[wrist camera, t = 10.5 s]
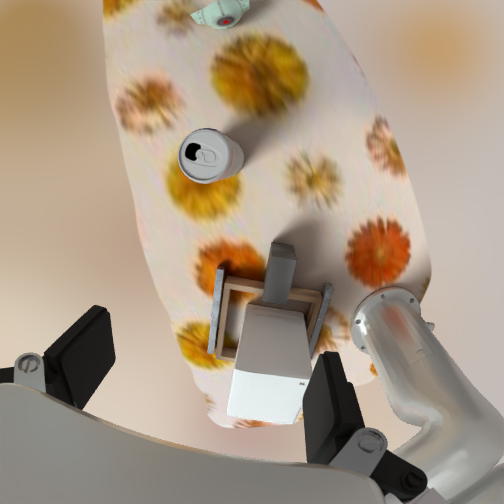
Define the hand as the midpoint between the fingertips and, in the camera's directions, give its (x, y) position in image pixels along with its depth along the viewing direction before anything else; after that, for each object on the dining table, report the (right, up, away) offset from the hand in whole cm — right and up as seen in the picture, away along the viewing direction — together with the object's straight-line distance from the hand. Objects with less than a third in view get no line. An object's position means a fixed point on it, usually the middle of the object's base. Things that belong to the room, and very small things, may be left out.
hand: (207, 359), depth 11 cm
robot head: (-2, +36, +19) cm, 41 cm away
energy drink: (-2, +17, +25) cm, 30 cm away
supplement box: (+5, -8, +32) cm, 34 cm away
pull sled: (+4, -4, +30) cm, 31 cm away
